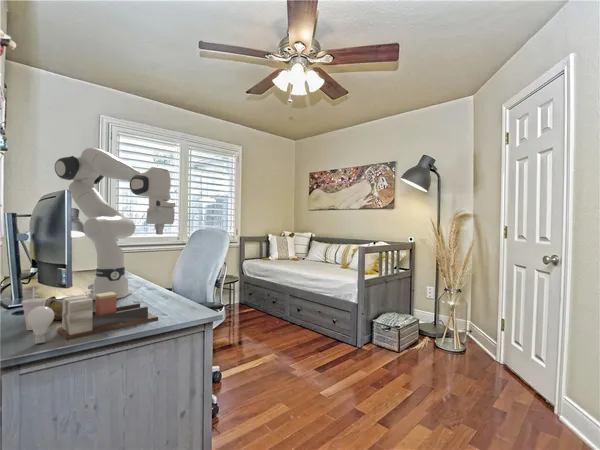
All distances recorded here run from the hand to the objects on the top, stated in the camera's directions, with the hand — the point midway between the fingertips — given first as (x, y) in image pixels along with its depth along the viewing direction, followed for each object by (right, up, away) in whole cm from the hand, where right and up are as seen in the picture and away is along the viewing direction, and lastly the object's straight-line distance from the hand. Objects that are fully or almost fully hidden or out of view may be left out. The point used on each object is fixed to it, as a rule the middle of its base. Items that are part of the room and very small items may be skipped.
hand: (159, 234), depth 139 cm
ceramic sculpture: (-30, -31, -22) cm, 48 cm away
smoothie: (-27, -31, -33) cm, 53 cm away
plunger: (-5, -30, -30) cm, 42 cm away
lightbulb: (-15, -31, -46) cm, 58 cm away
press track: (-4, -31, -28) cm, 42 cm away
